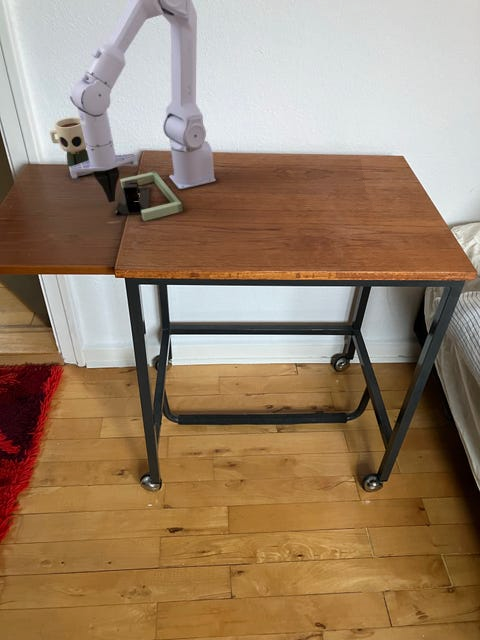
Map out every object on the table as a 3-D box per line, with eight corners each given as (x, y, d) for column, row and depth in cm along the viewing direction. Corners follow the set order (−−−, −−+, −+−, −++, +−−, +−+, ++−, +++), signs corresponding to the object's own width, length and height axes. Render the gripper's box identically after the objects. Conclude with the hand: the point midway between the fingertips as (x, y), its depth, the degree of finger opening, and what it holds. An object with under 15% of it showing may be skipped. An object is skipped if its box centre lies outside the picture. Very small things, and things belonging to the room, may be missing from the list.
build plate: (147, 214, 120) (144, 195, 117) (115, 216, 120) (111, 197, 117) (150, 188, 130) (147, 170, 127) (120, 190, 129) (116, 172, 126)
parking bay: (156, 178, 134) (155, 171, 132) (182, 211, 120) (181, 203, 119) (121, 186, 131) (119, 179, 130) (144, 221, 118) (142, 213, 116)
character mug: (57, 179, 135) (43, 128, 127) (64, 167, 141) (51, 117, 132) (99, 178, 135) (88, 126, 127) (105, 166, 141) (94, 116, 132)
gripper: (127, 129, 118) (136, 185, 127) (60, 141, 114) (75, 199, 122) (136, 139, 113) (145, 198, 122) (67, 153, 109) (82, 213, 117)
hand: (111, 200), depth 122 cm, fingers closed
